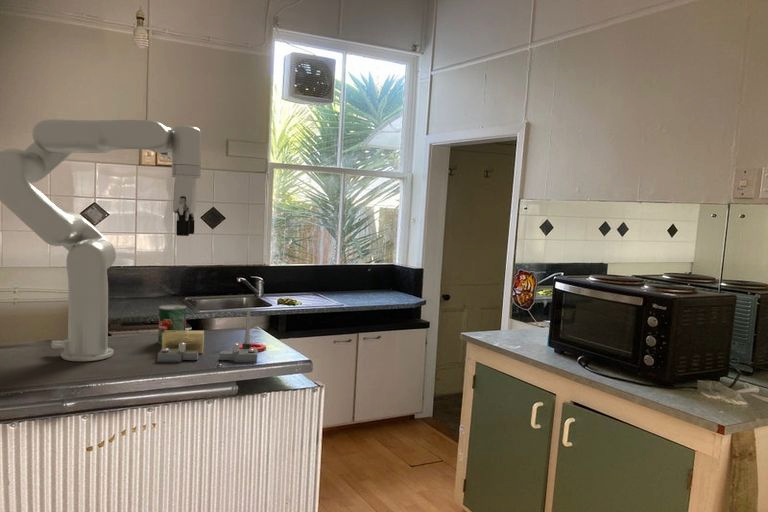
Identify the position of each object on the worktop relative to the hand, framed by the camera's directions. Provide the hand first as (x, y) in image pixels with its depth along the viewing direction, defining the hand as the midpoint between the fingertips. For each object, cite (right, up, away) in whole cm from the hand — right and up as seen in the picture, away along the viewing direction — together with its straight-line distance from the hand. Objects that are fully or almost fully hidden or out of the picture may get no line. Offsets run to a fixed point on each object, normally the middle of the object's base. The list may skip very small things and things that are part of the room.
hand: (185, 234), depth 160 cm
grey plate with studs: (+6, -35, +1) cm, 35 cm away
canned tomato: (-10, -33, +18) cm, 38 cm away
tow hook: (+15, -34, +14) cm, 40 cm away
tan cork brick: (-3, -34, +7) cm, 34 cm away
